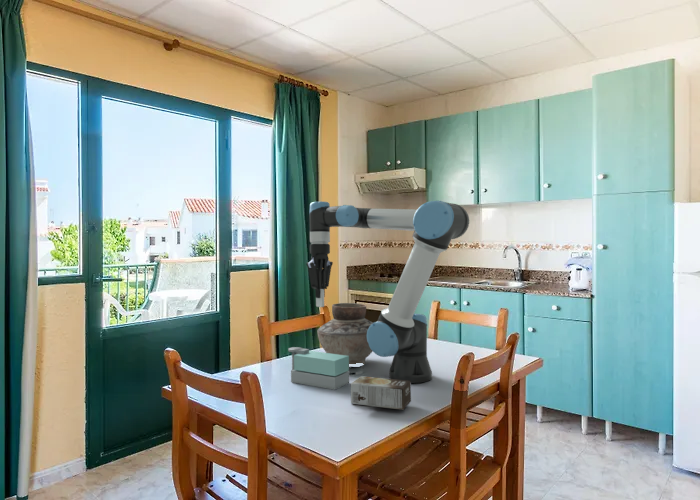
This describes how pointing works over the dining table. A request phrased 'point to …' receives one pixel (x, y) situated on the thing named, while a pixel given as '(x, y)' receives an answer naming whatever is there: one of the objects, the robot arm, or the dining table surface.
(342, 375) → the grey box
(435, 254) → the robot arm
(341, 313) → the ceramic pot
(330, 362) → the lid
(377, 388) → the coffee box
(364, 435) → the dining table surface
